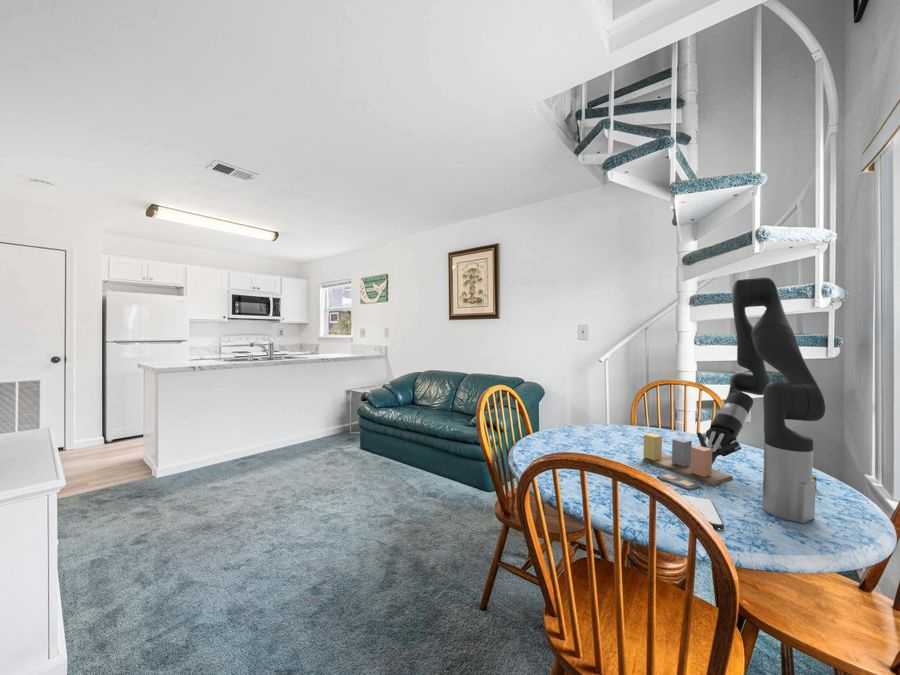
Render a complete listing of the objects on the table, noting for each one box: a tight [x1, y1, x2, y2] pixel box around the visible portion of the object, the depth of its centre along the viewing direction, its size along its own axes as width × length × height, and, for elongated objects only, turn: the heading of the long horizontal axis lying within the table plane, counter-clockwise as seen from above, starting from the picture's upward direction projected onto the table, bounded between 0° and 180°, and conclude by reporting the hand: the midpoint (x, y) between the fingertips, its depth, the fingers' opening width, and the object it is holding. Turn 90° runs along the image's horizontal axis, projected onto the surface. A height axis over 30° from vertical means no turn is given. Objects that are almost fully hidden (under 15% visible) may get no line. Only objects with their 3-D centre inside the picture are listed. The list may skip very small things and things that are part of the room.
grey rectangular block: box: [671, 437, 693, 467], centre depth 127 cm, size 4×4×8 cm
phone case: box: [681, 493, 725, 531], centre depth 97 cm, size 9×2×16 cm
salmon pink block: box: [691, 445, 713, 477], centre depth 119 cm, size 4×4×8 cm
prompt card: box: [656, 472, 701, 491], centre depth 115 cm, size 10×5×1 cm, turn 27°
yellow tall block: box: [642, 432, 663, 460], centre depth 133 cm, size 4×4×8 cm
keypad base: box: [642, 453, 734, 486], centre depth 126 cm, size 23×11×1 cm, turn 27°
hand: (706, 462), depth 120 cm, fingers closed
